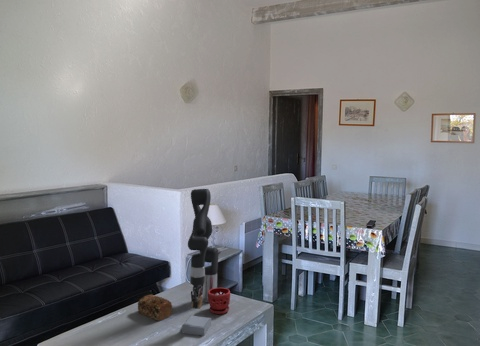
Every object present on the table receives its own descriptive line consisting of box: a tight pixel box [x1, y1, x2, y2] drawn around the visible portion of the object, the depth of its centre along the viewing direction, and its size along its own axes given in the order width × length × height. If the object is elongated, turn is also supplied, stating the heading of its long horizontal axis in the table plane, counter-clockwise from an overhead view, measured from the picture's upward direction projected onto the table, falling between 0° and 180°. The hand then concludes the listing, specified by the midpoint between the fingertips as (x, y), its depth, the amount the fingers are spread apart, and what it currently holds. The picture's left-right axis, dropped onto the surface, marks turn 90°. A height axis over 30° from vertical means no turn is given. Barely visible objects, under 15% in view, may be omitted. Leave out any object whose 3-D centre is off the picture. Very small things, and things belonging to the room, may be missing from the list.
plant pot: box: [208, 287, 231, 315], centre depth 229 cm, size 13×13×12 cm
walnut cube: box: [190, 295, 203, 310], centre depth 205 cm, size 4×4×5 cm
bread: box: [137, 294, 173, 322], centre depth 222 cm, size 19×11×10 cm, turn 51°
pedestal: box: [181, 315, 212, 337], centre depth 206 cm, size 12×12×4 cm
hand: (196, 306), depth 205 cm, fingers closed on walnut cube, 4 cm apart
